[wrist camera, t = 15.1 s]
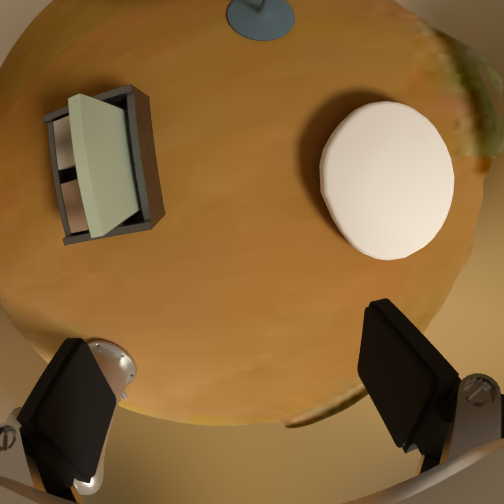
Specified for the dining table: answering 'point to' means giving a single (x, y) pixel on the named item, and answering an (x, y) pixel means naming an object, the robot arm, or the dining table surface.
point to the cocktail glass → (261, 18)
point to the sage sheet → (103, 162)
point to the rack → (143, 162)
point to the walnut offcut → (74, 206)
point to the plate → (386, 179)
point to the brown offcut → (64, 143)
